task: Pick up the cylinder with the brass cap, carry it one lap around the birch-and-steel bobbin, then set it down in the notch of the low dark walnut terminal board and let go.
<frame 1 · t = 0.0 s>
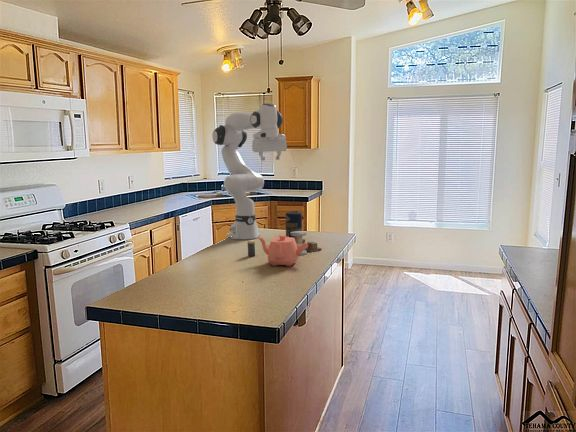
hand: (270, 160, 246), 48 cm above the worktop, fingers open, 8 cm apart
bobbin: (298, 253, 236), on the worktop
teapot: (282, 264, 217), on the worktop
cylinder: (251, 256, 233), on the worktop
board: (306, 248, 248), on the worktop
canister: (294, 241, 266), on the worktop
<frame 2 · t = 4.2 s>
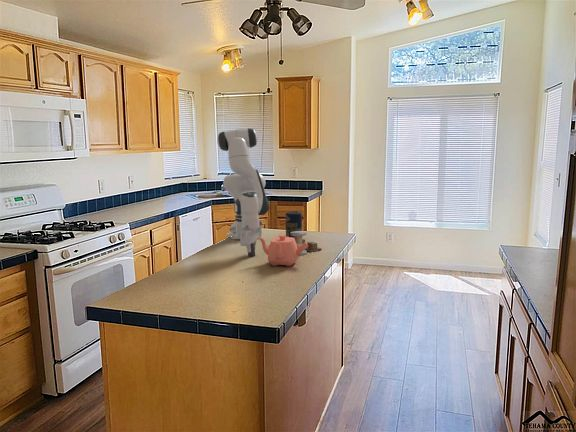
hand: (251, 250, 233), 3 cm above the worktop, fingers closed on cylinder, 4 cm apart
cylinder: (251, 256, 233), on the worktop, touching gripper
everything else where it was.
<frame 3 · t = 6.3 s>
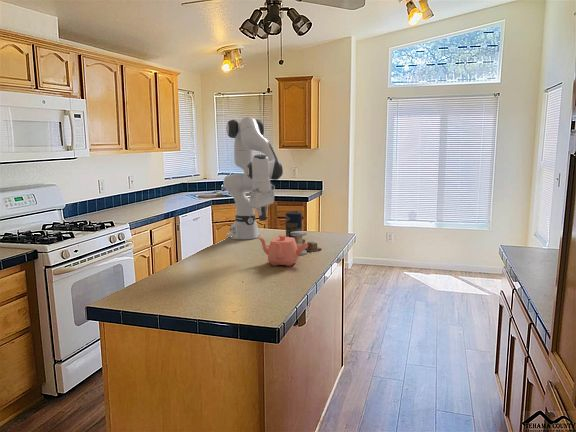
hand: (262, 214, 229), 22 cm above the worktop, fingers closed on cylinder, 4 cm apart
cylinder: (262, 220, 229), point 19 cm above the worktop, touching gripper
everything else where it was.
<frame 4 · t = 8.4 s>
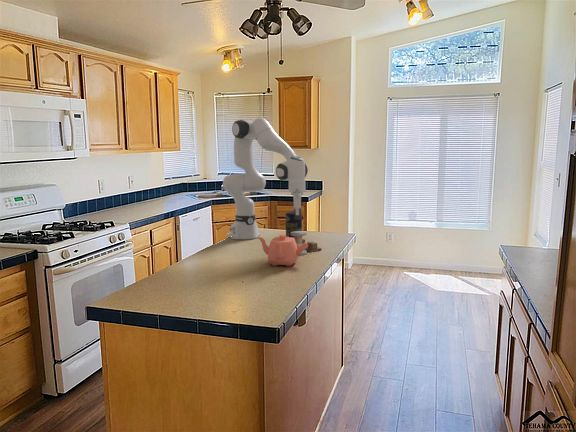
hand: (297, 214, 239), 20 cm above the worktop, fingers closed on cylinder, 4 cm apart
cylinder: (297, 218, 240), point 17 cm above the worktop, touching gripper
everything else where it was.
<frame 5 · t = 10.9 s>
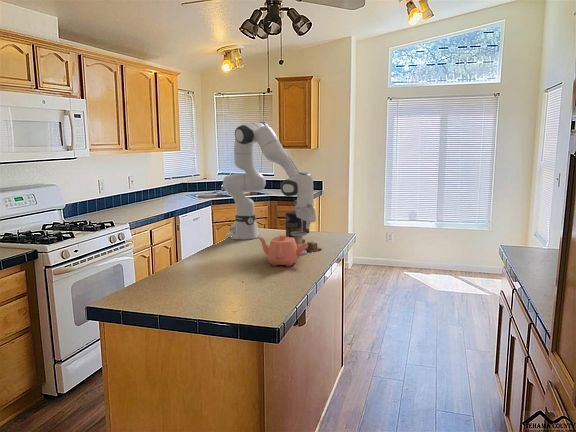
hand: (305, 228, 246), 11 cm above the worktop, fingers closed on cylinder, 4 cm apart
cylinder: (306, 232, 246), point 8 cm above the worktop, touching gripper
everything else where it was.
when the fingers open (5 cm above the worktop, at t = 12.8 s): cylinder drops 1 cm, resting on board.
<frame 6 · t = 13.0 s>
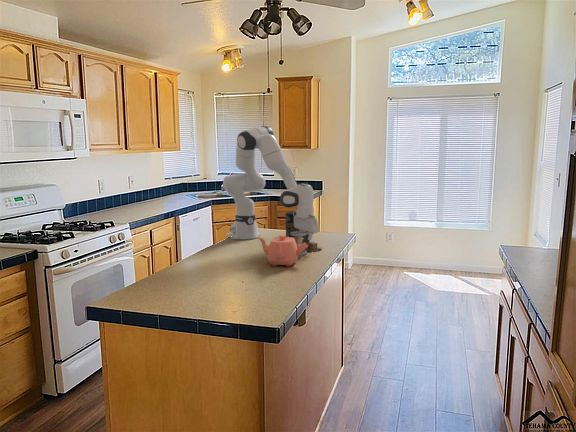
hand: (306, 238, 247), 5 cm above the worktop, fingers open, 5 cm apart
cylinder: (306, 246, 247), point 1 cm above the worktop, touching board
everything else where it was.
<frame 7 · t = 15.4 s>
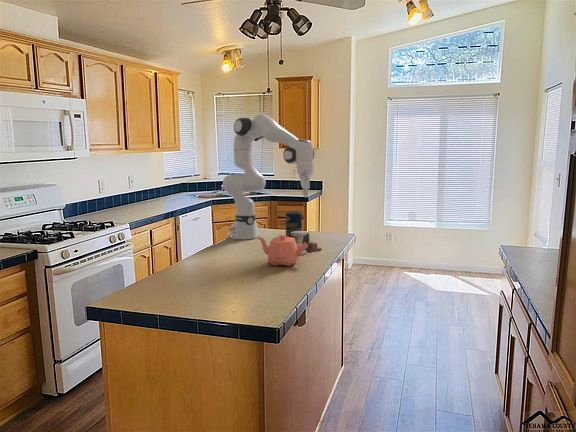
hand: (305, 196, 243), 29 cm above the worktop, fingers open, 8 cm apart
nothing on the worktop moved.
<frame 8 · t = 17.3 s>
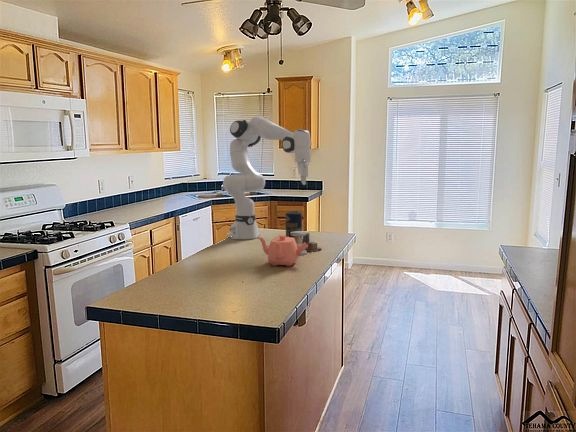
hand: (303, 183, 253), 34 cm above the worktop, fingers open, 8 cm apart
nothing on the worktop moved.
at the end: cylinder 0.1 cm off-centre on the board, point 1.0 cm above the board's base; cylinder tilted 0°; the gripper is holding nothing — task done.
